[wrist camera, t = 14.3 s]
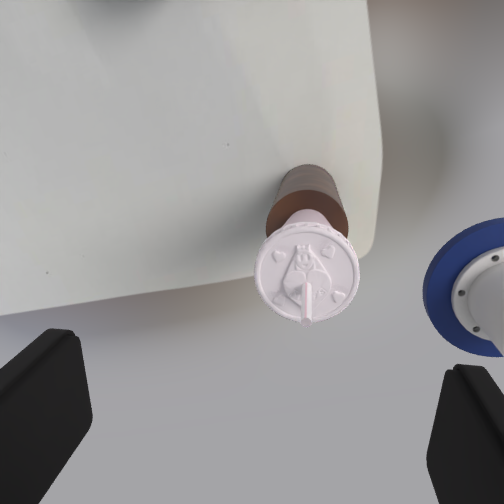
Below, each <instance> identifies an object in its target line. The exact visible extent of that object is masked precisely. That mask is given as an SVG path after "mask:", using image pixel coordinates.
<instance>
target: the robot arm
mask: <svg viewBox="0 0 504 504" xmlns="http://www.w3.org/2000/svg"><path fill="white" fill-rule="evenodd" d="M492 256H494V257H492ZM460 290H461V291H460ZM458 291H459V292H458ZM451 302H452V308H453V311H454V313H455V315H456V317H457V319H458V320H459V322H460V323H461V324H462V325H463V326H464V327H465V329H466V330H468V331H469V332H470V333H472V334H473V335H476V336H478V337H480V338H482V339H486V340H490V341H492V342H493V344H494V345H495V346H496V348H497V349H498V350H499V351H500V353H501V354H502V355H503V356H504V246H503V247H499V248H495V249H492V250H489V251H487V252H485V253H482V254H481V255H479V256H478V257H476V258H474V259H473V260H472V261H471V262H469V263H468V264H467V265H466V266H465V267H464V268H463V270H462V271H461V272H460V273H459V275H458V277H457V279H456V280H455V282H454V285H453V289H452V295H451ZM92 416H93V415H92V408H91V403H90V397H89V391H88V384H87V378H86V372H85V366H84V360H83V355H82V348H81V342H80V339H79V337H77V336H75V334H74V333H73V331H71V330H63V329H48V330H46V331H45V332H43V333H42V334H41V335H40V336H39V337H38V338H36V339H35V340H34V341H33V342H32V343H30V344H29V345H28V346H27V347H26V348H25V349H24V350H22V351H21V352H20V353H19V354H18V355H16V356H15V357H14V358H13V359H12V360H10V361H9V362H8V363H7V364H6V365H4V366H3V367H2V368H1V369H0V504H39V502H40V501H41V499H42V498H43V497H44V495H45V494H46V492H47V491H48V489H49V488H50V486H51V485H52V483H53V482H54V480H55V479H56V477H57V476H58V474H59V473H60V472H61V470H62V469H63V467H64V466H65V464H66V463H67V461H68V459H69V458H70V457H71V455H72V454H73V452H74V451H75V449H76V448H77V447H78V445H79V444H80V442H81V441H82V439H83V438H84V436H85V435H86V433H87V432H88V430H89V429H90V426H91V423H92V418H93V417H92ZM426 460H427V468H428V472H429V475H430V478H431V481H432V484H433V487H434V489H435V493H436V496H437V499H438V502H439V504H504V395H503V393H502V392H501V390H500V389H499V387H498V386H497V384H496V383H495V382H494V380H493V379H492V377H491V376H490V374H489V373H488V371H487V370H486V369H485V368H484V367H482V366H473V365H462V364H456V365H455V366H454V367H453V370H447V371H446V372H445V375H444V380H443V384H442V389H441V393H440V397H439V402H438V407H437V411H436V415H435V420H434V424H433V429H432V433H431V437H430V441H429V446H428V450H427V457H426Z"/></svg>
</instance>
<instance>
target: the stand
mask: <svg viewBox="0 0 504 504" xmlns="http://www.w3.org/2000/svg"><path fill="white" fill-rule="evenodd" d="M304 209H311V210H315V211H318V212H319V213H321V214H322V215H323V216H324V217H325V218H326V219H327V221H328V222H329V223H330V225H331V226H332V228H333V229H335V230H337V231H338V232H340V233H341V234H342V235H343V236H344V237H345V238H346V239H347V236H348V221H347V217H346V214H345V211H344V208H343V205H342V202H341V199H340V197H339V194H338V191H337V188H336V185H335V182H334V180H333V178H332V176H331V175H330V174H329V173H328V172H327V171H326V170H325V169H323V168H321V167H319V166H316V165H311V164H306V165H301V166H298V167H295V168H294V169H292V170H291V171H290V172H288V173H287V175H286V176H285V177H284V179H283V181H282V183H281V186H280V188H279V191H278V193H277V196H276V198H275V201H274V203H273V206H272V208H271V211H270V213H269V215H268V218H267V222H266V235H267V238H268V237H269V236H270V235H271V234H272V233H273V232H275V231H276V230H278V229H280V228H282V226H283V225H284V224H285V223H286V221H287V220H288V219H289V218H290V216H291V215H293V214H294V213H295V212H297V211H300V210H304Z"/></svg>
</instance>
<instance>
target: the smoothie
mask: <svg viewBox="0 0 504 504" xmlns="http://www.w3.org/2000/svg"><path fill="white" fill-rule="evenodd" d="M254 279H255V285H256V288H257V291H258V293H259V295H260V297H261V298H262V300H263V301H264V303H265V304H266V305H267V306H268V307H269V308H270V309H271V310H272V311H274V312H275V313H277V314H278V315H280V316H282V317H284V318H286V319H289V320H292V321H296V322H301V325H302V326H303V327H309V326H311V324H312V322H319V321H323V320H327V319H329V318H331V317H333V316H335V315H337V314H339V313H340V312H341V311H343V310H344V309H345V308H346V307H347V306H348V305H349V304H350V302H351V301H352V299H353V298H354V296H355V294H356V292H357V289H358V285H359V279H360V272H359V264H358V259H357V254H356V252H355V251H354V249H353V247H352V245H351V243H350V242H349V241H348V240H347V239H346V238H345V237H344V236H343V235H342V234H341V233H340V232H338V231H337V230H335V229H333V228H332V226H331V225H330V223H329V222H328V221H327V219H326V218H325V217H324V216H323V215H322V214H321V213H319V212H318V211H315V210H311V209H304V210H300V211H297V212H295V213H294V214H293V215H291V216H290V218H289V219H288V220H287V221H286V223H285V224H284V225H283V226H282V228H280V229H278V230H276V231H275V232H273V233H272V234H271V235H270V236H269V237H268V238H267V239H266V240H265V241H264V243H263V245H262V246H261V248H260V249H259V251H258V254H257V258H256V262H255V269H254Z"/></svg>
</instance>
